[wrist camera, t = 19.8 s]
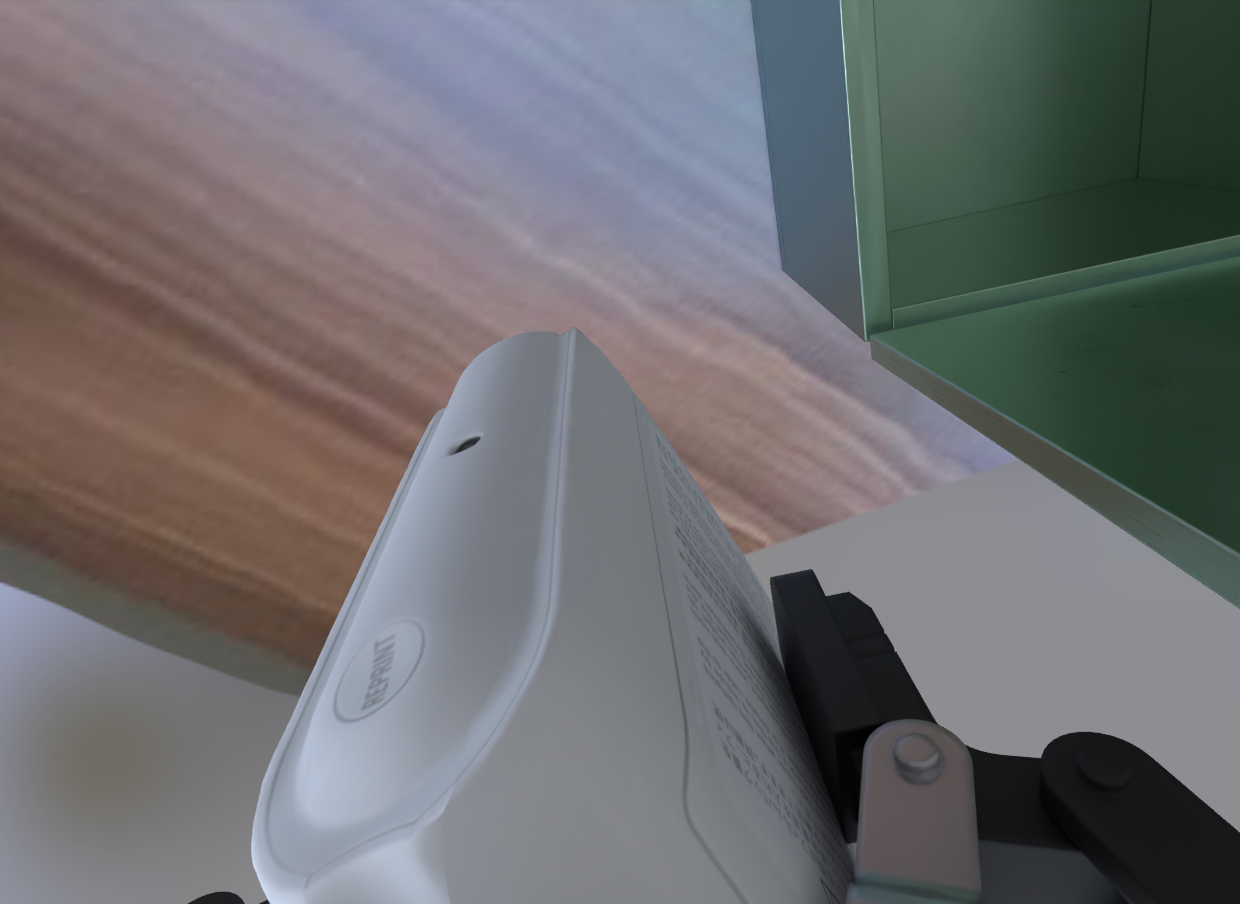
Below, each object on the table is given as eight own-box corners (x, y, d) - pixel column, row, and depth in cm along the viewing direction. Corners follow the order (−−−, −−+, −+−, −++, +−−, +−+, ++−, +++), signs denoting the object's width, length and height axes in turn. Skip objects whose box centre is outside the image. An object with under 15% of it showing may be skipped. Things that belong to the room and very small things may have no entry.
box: (727, -202, 27) (811, -380, 17) (1184, -316, 26) (1557, -572, 16) (782, 271, 34) (864, 343, 24) (1142, 192, 33) (1383, 232, 23)
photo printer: (402, 392, 16) (-1, 1105, 5) (573, 282, 15) (562, 837, 4) (654, 698, 20) (749, 1469, 9) (799, 624, 19) (1106, 1372, 8)
